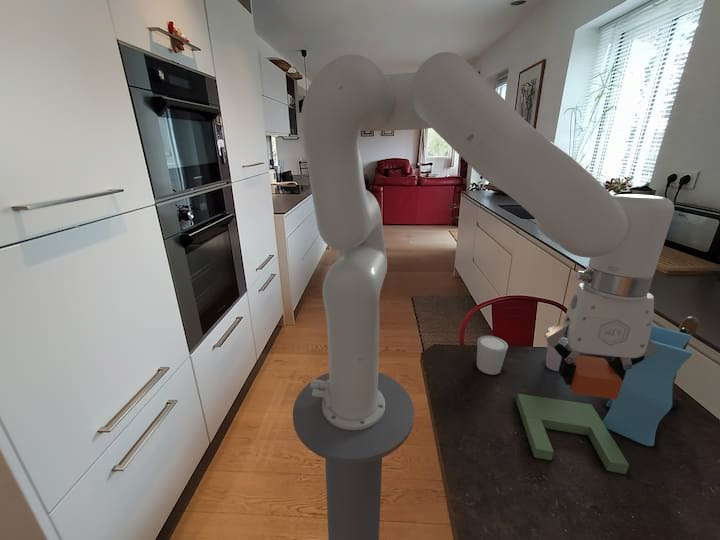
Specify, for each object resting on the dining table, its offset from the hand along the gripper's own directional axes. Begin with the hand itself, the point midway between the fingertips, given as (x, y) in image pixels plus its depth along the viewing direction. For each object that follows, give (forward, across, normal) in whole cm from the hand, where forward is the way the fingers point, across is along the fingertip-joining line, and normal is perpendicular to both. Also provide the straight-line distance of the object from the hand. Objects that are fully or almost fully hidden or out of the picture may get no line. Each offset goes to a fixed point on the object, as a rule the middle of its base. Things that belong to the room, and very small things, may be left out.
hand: (588, 381), depth 54 cm
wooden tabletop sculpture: (+15, +23, +17) cm, 32 cm away
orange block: (+1, 0, 0) cm, 1 cm away
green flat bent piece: (+14, 0, +3) cm, 15 cm away
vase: (+15, +13, +8) cm, 21 cm away
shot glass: (+14, -11, +21) cm, 28 cm away
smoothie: (+15, +5, +25) cm, 30 cm away
